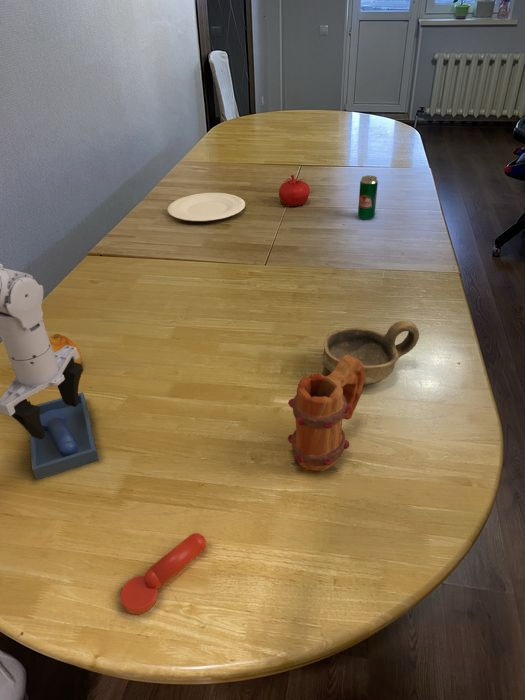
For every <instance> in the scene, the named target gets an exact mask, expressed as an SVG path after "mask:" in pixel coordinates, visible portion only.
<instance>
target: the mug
mask: <svg viewBox="0 0 525 700" xmlns="http://www.w3.org/2000/svg"><path fill="white" fill-rule="evenodd" d="M364 379H365V371H364V367H363V364H362V362H361V361H360V360H358V359H356V358H355V357H352V356H350V355H345V356H344V357H343V358H341V360H340V361H339V363H338V365H337V366H336V368H335V370H334V371H333V372H330V374H328V375H323V374H322V373H320V372H319V373H312V374H310V375H309V376H305V377H303V378H302V379H300V381H299V383H298V384H297V388H296V394H295V396H294V397H293V398H291V399H289V400H288V401H287V404H288V406H289V407H290V408H291V409H292V413H293V416H294V419H295V430H294V432H293V433H292V434H289V435H288V436H287V441H288V442H289V444H291V447H292V452H293V454H294V456H295V460H296V462H297V463H298V465H300V466H301V467H304V468H305V469H308V470H311V471H316V472H319V471H325V470H327V469H330V468H331V467H333V466H335V465H336V463H337V462H338V461H339V460H340V458H341V457H342V456H343V454H344V453H345V450H347V449H349V447H350V441H348V440H347V439H346V433H345V431H344V429H343V420H351V419H352V417H353V414H354V412H355V409H356V407H357V405H358V403H359V401H360V399H361V395H362V392H363V389H364V385H365V384H364Z"/></svg>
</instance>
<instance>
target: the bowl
mask: <svg viewBox="0 0 525 700" xmlns="http://www.w3.org/2000/svg"><path fill="white" fill-rule="evenodd" d="M403 332H407V335H406V336H405V338H404V339H403V340H402V341H401V342H399V343H397V344H396V339H397V338H398V336H399V335H400V334H401V333H403ZM419 340H420V331H419V328H418V327H417V325H416V324H415V322H413V321H411V320H405V319H403V320H399V321H396V322H394V323H393V324H392V325H390V327H389V328H388V330H387V331H386V333H382V332H379V331H375V330H373V329H368V328H361V327H343V328H339V329H337V330H334V331H332V332H331V333H328V334H327V335H326V336H325V338H324V340H323V352H322V355H321V359H320V363H321V365H323V366H324V368H326V369H327V370H328V371H329V372H330V373H332V372H333V371H334V370H335V368H336V366H337V365H338V363H339V361H340V360H341V358H343V357H344V356H345V355H350V356H352V357H355V358H356V359H358V360H360V361H361V362H362V364H363V367H364V371H365V379H364V385H369V384H375V383H379V382H382V381H383V380H385V379H387V378H388V377H389V376H390V375H391V374H392V373H393V372H394V369H395V365H396V363H397V362H398V360H399V359H400V358H401V357H402V356H405V355H406V354H408V353H410V352H411V351H412V350H413V349H414V348H415V347H416V345H417V343H418V342H419Z"/></svg>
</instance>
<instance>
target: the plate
mask: <svg viewBox="0 0 525 700" xmlns="http://www.w3.org/2000/svg"><path fill="white" fill-rule="evenodd" d="M245 208H246V201H245V200H244V199H242V198H241V197H240V196H237V195H234V194H231V193H225V192H201V193H196V194H189V195H186V196H182V197H180V198H178V199H175V200H174V201H172V202H171V203H170V204H168V206H167V213H168V214H169V215H170V216H171V217H173V218H174V219H177V220H181V221H186V222H194V223H195V222H198V223H200V222H204V223H205V222H215V221H219V220H224V219H228V218H231V217H234V216H236V215H238V214H240V213H241V212H242V211H244V210H245Z"/></svg>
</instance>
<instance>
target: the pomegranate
mask: <svg viewBox="0 0 525 700" xmlns="http://www.w3.org/2000/svg"><path fill="white" fill-rule="evenodd" d="M282 182H283V183H282V184H281V185H280V187H279V189H278V198H279V199H280V201H281V203H282V204H283V205H285V206H286V207H297V206H303V205H304V204H305V203H306V202H308V199H309V197H310V193H311V188H310V186H309V185H310V184H308V183H307V182H306V181H305V179H301V178H300V179H299V177H296V178H295V174H290V178H289V177H288V178H286V180H283V181H282Z"/></svg>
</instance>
